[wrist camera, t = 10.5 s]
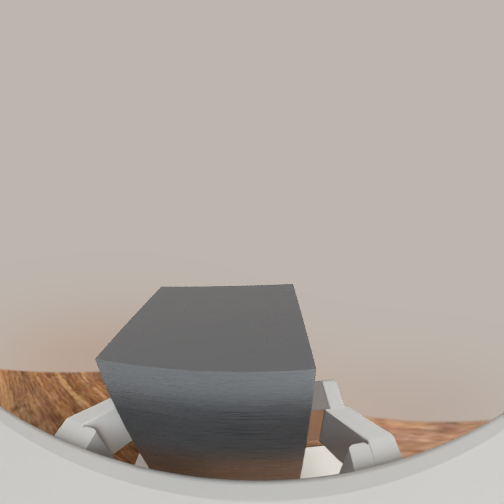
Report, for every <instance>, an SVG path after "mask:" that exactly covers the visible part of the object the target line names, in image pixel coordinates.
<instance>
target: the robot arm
mask: <svg viewBox="0 0 504 504" xmlns="http://www.w3.org/2000/svg"><path fill="white" fill-rule="evenodd" d="M314 440H319V441H320V442H321V443H322V444H323V445H324V446H325V447H326V448H327V449H328V450H329V451H330V452H331V453H332V454H333V455H334V456H335V457H336V458H337V459H338V460H339V461H340V462H341V463H342V464H343V465H342V467H341V470H340V472H339V474H334V475H328V476H320V477H312V478H301V479H288V480H227V479H214V478H204V477H195V476H187V475H181V474H175V473H169V472H164V471H159V470H154V469H149V468H145V467H141V466H137V465H133V464H129V463H125V462H122V461H118V460H115V459H114V458H113V456H112V455H113V454H114V453H116V452H117V451H118V450H120V449H121V448H123V447H124V446H125V445H127V444H128V443H129V442H131V441H132V439H131V437H130V435H129V433H128V431H127V429H126V428H125V426H124V424H123V422H122V420H121V418H120V416H119V414H118V412H117V410H116V407H115V405H114V403H113V401H112V399H110V398H109V399H107V400H105V401H103V402H101V403H99V404H97V405H94V406H92V407H90V408H88V409H86V410H84V411H82V412H80V413H77V414H75V415H73V416H71V417H69V418H67V419H66V420H65V421H64V423H63V424H62V426H61V427H60V428H59V430H58V431H57V432H56V434H55V435H54V436H52V435H50V434H48V433H46V432H44V431H42V430H40V429H38V428H36V427H34V426H33V425H31V424H29V423H27V422H25V421H23V420H22V419H20V418H18V417H16V416H15V415H13V414H11V413H10V412H8V411H7V410H5V409H3V408H2V407H0V504H504V413H503V414H501V415H499V416H498V417H496V418H494V419H493V420H491V421H489V422H487V423H485V424H484V425H482V426H480V427H478V428H476V429H474V430H472V431H470V432H468V433H466V434H464V435H462V436H460V437H458V438H456V439H453V440H451V441H449V442H447V443H444V444H442V445H439V446H437V447H434V448H432V449H429V450H427V451H424V452H421V453H418V454H415V455H412V456H409V457H406V458H402V455H401V453H400V451H399V448H398V446H397V444H396V441H395V439H394V437H393V435H392V434H390V433H389V432H387V431H386V430H384V429H382V428H381V427H379V426H377V425H376V424H374V423H373V422H371V421H369V420H368V419H366V418H365V417H363V416H362V415H360V414H359V413H357V412H355V411H354V410H353V409H351V408H349V407H344V404H343V401H342V398H341V395H340V392H339V389H338V386H337V383H336V380H334V379H331V380H322V381H315V384H314V393H313V401H312V409H311V416H310V423H309V430H308V436H307V441H314Z"/></svg>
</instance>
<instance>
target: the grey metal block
mask: <svg viewBox="0 0 504 504" xmlns="http://www.w3.org/2000/svg"><path fill="white" fill-rule="evenodd" d="M96 362H97V365H98V368H99V370H100V373H101V375H102V378H103V380H104V383H105V385H106V387H107V390H108V392H109V394H110V397H111V399H112V401H113V403H114V405H115V407H116V410H117V412H118V414H119V416H120V418H121V420H122V422H123V424H124V426H125V428H126V429H127V431H128V433H129V435H130V437H131V439H132V440H133V442H134V444H135V446H136V448H137V449H138V451H139V453H140V454H141V456H142V458H143V459H144V461H145V462H146V464H147V466H148V467H149V469H154V470H159V471H164V472H169V473H175V474H181V475H187V476H195V477H204V478H214V479H227V480H288V479H300V476H301V471H302V465H303V460H304V454H305V449H306V443H307V436H308V430H309V423H310V416H311V409H312V401H313V393H314V384H315V375H316V367H315V363H314V359H313V355H312V351H311V348H310V344H309V340H308V336H307V333H306V329H305V325H304V322H303V318H302V315H301V311H300V308H299V304H298V300H297V297H296V293H295V290H294V286H293V284H285V285H257V286H213V287H161V288H160V289H159V290H158V291H157V292H156V293H155V294H154V295H153V296H152V297H151V298H150V299H149V300H148V302H146V304H145V305H144V306H143V307H142V308H141V309H140V310H139V311H138V312H137V313H136V314H135V316H133V317H132V319H131V320H130V321H129V322H128V323H127V324H126V325H125V326H124V327H123V328H122V329H121V331H120V332H119V333H118V334H117V335H116V336H115V337H114V338H113V339H112V341H111V342H110V343H109V344H108V345H107V346H106V347H105V348H104V350H103V351H102V352H101V353H100V354H99V355H98V357H97V358H96Z"/></svg>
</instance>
